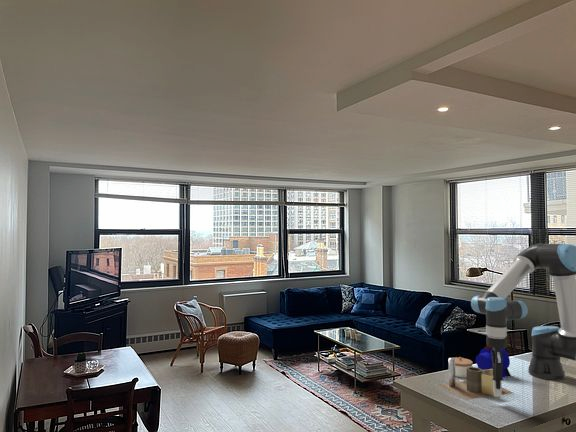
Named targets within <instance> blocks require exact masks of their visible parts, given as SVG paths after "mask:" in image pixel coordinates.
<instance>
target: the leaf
mask: <svg viewBox="0 0 576 432" xmlns="http://www.w3.org/2000/svg"><path fill="white" fill-rule="evenodd" d="M492 378H494V377H493V376H489V375H485V374H482V393H484V394H488V395H491V396H490V397H495V398H501V397H496V396H494V380H492Z"/></svg>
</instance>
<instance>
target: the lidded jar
mask: <svg viewBox="0 0 576 432" xmlns="http://www.w3.org/2000/svg"><path fill="white" fill-rule="evenodd" d="M454 358H455V377H456V378H467V367H473V363H474V362H473V361H472V360H471V359H469V358H464V357H461V356H459V357H454Z"/></svg>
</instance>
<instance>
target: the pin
mask: <svg viewBox="0 0 576 432" xmlns="http://www.w3.org/2000/svg"><path fill="white" fill-rule="evenodd" d="M455 358H456V357H448V360H447V361H448V383H449V387H456V382H457V381H456V376H455Z"/></svg>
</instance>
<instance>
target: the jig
mask: <svg viewBox="0 0 576 432" xmlns="http://www.w3.org/2000/svg"><path fill="white" fill-rule="evenodd" d="M492 373H493V369H488V370H482V369H480V368H478V366H477V367H476V366H472V367H467V377H466V380H462V381H456V387H449V382H446V383H438V385H439V386H441V387H442V388H445V389H447V390H448V391H451V392H452V393H454V394H456V395H458V396H459V397H461V398H463V399H465V400H473V399H480V398H488V397H492V396H491V395H488V394H484V393H482V374H485V375H489V376H493V374H492ZM511 394H514V392H512V391H511V390H509V389H507V388H504V387H502V396H503V395H511Z"/></svg>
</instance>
